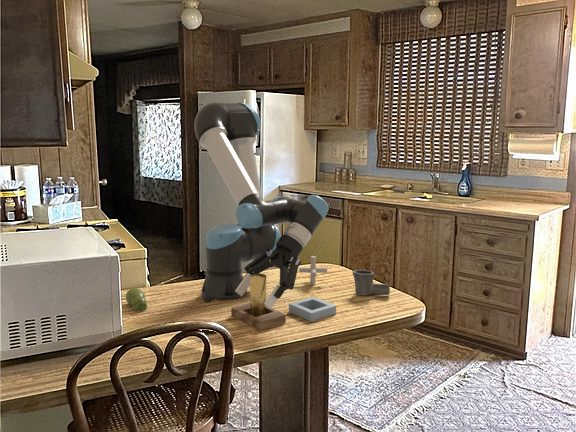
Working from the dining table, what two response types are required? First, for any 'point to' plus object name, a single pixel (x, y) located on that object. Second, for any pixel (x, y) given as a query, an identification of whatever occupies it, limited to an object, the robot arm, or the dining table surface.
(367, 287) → the pipe
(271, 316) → the brown wooden holder
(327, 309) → the blue-grey square socket
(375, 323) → the dining table surface
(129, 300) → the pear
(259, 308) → the axle
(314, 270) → the pipe connector
